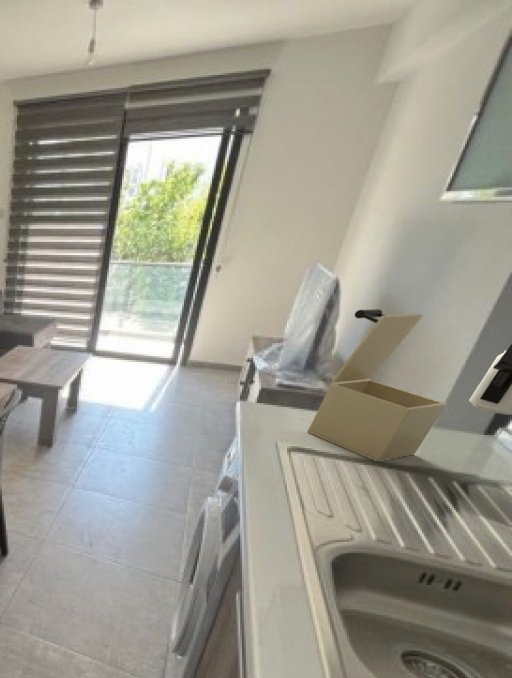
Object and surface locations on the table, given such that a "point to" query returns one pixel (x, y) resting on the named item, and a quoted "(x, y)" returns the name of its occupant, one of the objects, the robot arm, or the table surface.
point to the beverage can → (508, 403)
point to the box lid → (376, 344)
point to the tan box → (375, 419)
